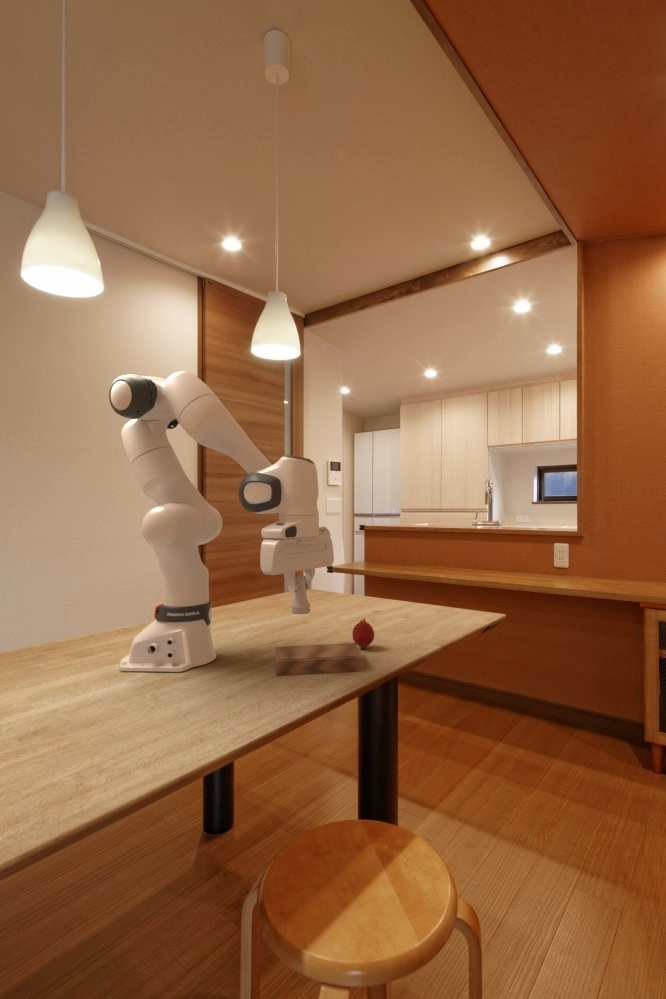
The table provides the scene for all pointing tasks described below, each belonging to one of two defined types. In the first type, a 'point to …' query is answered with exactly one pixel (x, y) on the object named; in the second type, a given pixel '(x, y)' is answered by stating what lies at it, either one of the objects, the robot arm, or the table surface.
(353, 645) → the walnut board
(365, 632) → the onion
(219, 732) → the table surface
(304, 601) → the rook chess piece
